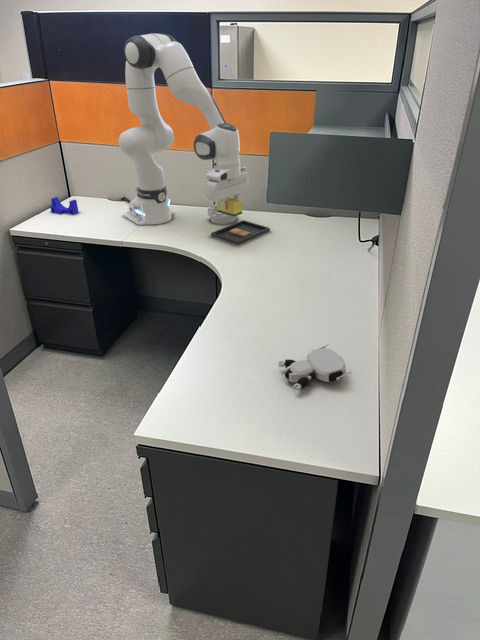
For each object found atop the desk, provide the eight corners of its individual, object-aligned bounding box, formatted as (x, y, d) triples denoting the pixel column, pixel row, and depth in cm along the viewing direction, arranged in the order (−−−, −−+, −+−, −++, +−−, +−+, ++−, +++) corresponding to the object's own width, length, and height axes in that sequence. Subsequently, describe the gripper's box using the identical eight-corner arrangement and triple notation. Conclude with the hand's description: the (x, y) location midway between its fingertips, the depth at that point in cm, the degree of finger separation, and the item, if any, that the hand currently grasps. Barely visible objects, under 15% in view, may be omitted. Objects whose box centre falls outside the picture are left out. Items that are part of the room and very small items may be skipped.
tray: (211, 237, 201) (210, 232, 200) (243, 224, 213) (243, 220, 212) (237, 246, 192) (237, 241, 191) (269, 232, 205) (269, 227, 204)
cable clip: (51, 212, 229) (48, 199, 226) (58, 209, 233) (55, 196, 230) (72, 215, 225) (69, 202, 222) (78, 212, 228) (76, 199, 225)
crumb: (236, 235, 201) (236, 233, 200) (243, 232, 203) (243, 230, 203) (244, 237, 198) (244, 235, 198) (250, 234, 201) (250, 232, 200)
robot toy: (295, 400, 115) (353, 383, 119) (295, 385, 113) (354, 368, 116) (275, 370, 125) (329, 355, 129) (275, 356, 123) (330, 341, 126)
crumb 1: (228, 232, 203) (228, 230, 203) (235, 229, 206) (235, 227, 205) (236, 234, 201) (236, 232, 200) (242, 232, 203) (242, 230, 203)
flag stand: (220, 213, 225) (217, 144, 210) (243, 218, 218) (243, 148, 203) (202, 221, 216) (198, 150, 200) (226, 227, 209) (224, 154, 194)
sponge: (217, 211, 194) (216, 199, 191) (225, 208, 197) (224, 196, 194) (234, 216, 189) (234, 203, 186) (242, 213, 192) (242, 200, 189)
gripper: (240, 164, 193) (241, 199, 200) (203, 175, 180) (205, 212, 187) (253, 166, 189) (253, 202, 196) (215, 178, 176) (217, 215, 184)
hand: (229, 207), depth 192 cm, fingers closed on sponge, 4 cm apart
